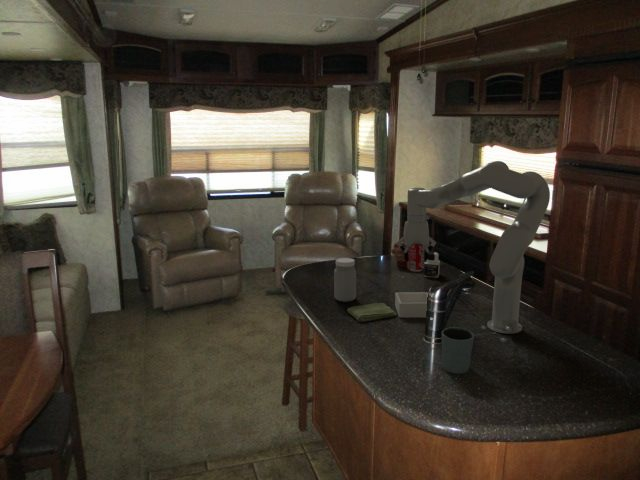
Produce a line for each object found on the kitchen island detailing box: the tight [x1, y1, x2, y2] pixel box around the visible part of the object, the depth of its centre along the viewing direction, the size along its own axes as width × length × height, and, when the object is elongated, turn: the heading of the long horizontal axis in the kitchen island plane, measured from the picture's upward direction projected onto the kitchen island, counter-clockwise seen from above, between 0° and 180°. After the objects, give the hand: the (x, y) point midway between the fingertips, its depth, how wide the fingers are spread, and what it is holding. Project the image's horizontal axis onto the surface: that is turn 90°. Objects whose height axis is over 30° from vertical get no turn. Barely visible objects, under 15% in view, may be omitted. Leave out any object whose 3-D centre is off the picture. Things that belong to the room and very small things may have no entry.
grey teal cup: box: [441, 326, 475, 375], centre depth 171 cm, size 10×10×12 cm
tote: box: [394, 291, 429, 318], centre depth 221 cm, size 14×14×6 cm
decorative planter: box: [390, 240, 408, 269], centre depth 289 cm, size 20×12×14 cm, turn 105°
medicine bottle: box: [423, 251, 441, 279], centre depth 270 cm, size 7×7×12 cm
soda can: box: [406, 243, 425, 272], centre depth 219 cm, size 7×7×12 cm
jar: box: [333, 257, 357, 303], centre depth 236 cm, size 10×10×18 cm
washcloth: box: [346, 302, 398, 323], centre depth 219 cm, size 13×18×3 cm
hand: (415, 260), depth 219 cm, fingers closed on soda can, 6 cm apart
